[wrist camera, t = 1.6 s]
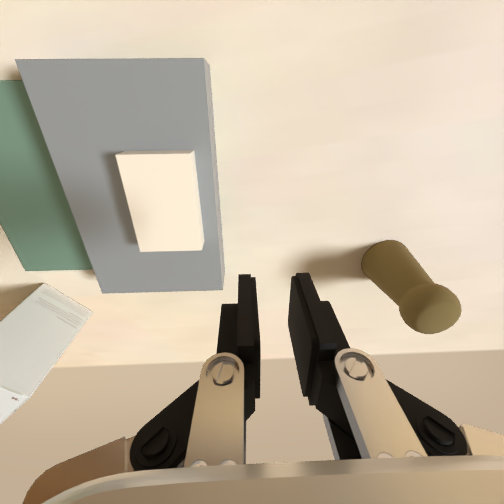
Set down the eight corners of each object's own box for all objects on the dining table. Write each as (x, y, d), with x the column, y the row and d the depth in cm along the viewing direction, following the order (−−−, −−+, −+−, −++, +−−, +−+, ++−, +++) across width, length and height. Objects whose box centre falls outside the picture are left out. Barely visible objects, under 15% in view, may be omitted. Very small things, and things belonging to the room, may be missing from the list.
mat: (-72, 81, 23) (-76, 81, 23) (42, 80, 23) (40, 80, 23) (27, 269, 33) (25, 271, 32) (106, 267, 33) (105, 269, 33)
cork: (366, 285, 36) (412, 350, 26) (356, 251, 33) (403, 310, 23) (411, 269, 35) (475, 331, 25) (404, 232, 32) (473, 286, 22)
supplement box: (44, 280, 34) (-53, 365, 23) (95, 311, 36) (31, 400, 25) (17, 310, 36) (-82, 399, 25) (67, 337, 39) (-2, 428, 28)
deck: (49, 66, 23) (14, 59, 19) (209, 65, 23) (203, 58, 19) (117, 273, 33) (102, 293, 30) (224, 271, 34) (222, 290, 30)
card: (125, 151, 22) (115, 154, 21) (194, 150, 23) (190, 153, 21) (146, 242, 27) (140, 251, 25) (204, 241, 27) (201, 250, 25)
